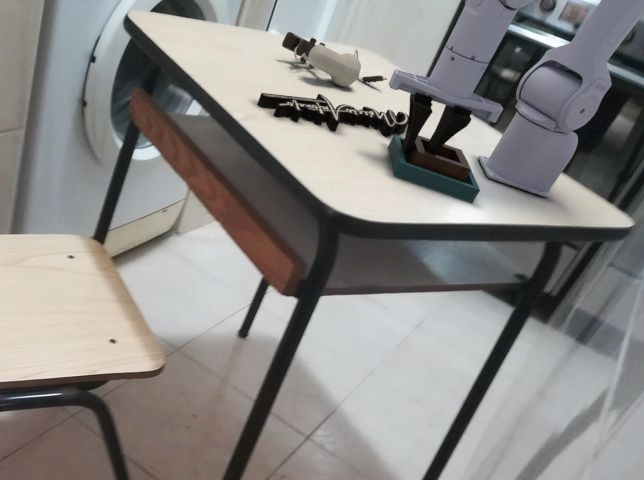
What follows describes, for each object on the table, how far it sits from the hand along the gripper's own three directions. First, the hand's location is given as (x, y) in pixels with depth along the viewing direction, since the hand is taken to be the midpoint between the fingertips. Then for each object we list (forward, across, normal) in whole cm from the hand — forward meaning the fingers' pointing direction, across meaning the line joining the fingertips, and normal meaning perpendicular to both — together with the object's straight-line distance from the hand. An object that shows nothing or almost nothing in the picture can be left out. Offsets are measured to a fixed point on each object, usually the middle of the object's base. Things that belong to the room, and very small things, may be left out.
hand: (414, 154), depth 91 cm
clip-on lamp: (+2, +10, -32) cm, 33 cm away
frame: (+1, -3, 0) cm, 3 cm away
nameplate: (+2, +10, -11) cm, 15 cm away
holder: (+2, -3, 0) cm, 3 cm away
